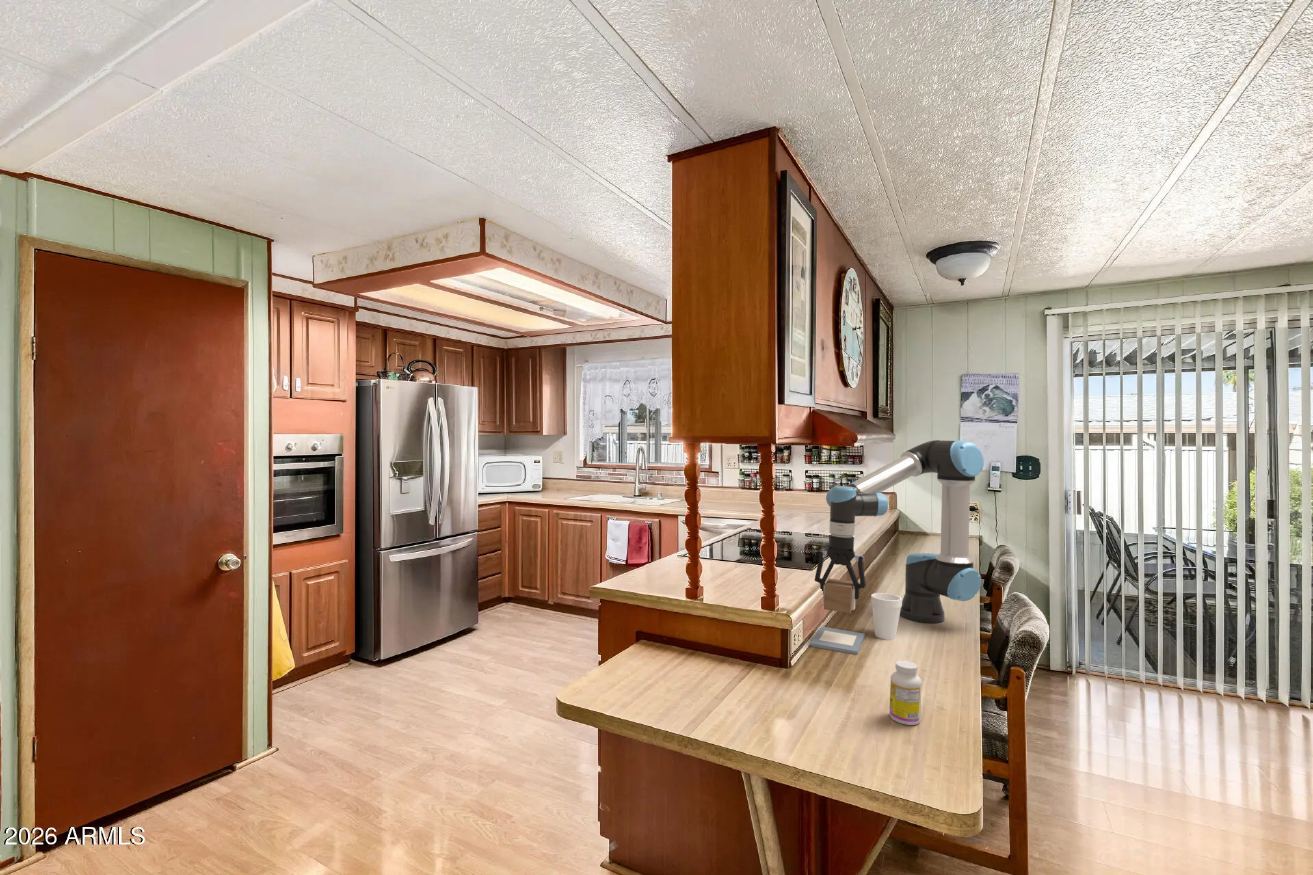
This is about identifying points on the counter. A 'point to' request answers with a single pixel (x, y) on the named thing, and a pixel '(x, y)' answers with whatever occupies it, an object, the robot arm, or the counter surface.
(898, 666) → the supplement bottle
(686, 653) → the counter surface
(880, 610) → the foam cup
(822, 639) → the blue flat board
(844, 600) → the walnut cube
